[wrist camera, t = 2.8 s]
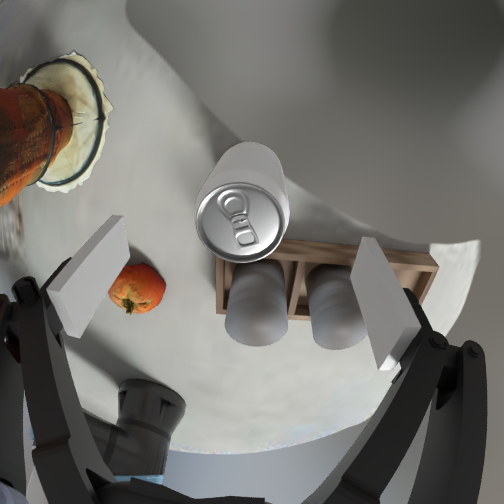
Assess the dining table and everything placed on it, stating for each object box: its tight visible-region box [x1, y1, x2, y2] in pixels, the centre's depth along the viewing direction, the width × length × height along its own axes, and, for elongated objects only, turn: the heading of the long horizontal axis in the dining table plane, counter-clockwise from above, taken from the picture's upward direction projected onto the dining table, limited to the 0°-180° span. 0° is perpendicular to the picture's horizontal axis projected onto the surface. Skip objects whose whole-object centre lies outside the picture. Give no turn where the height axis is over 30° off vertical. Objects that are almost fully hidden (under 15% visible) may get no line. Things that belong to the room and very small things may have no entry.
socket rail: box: [216, 239, 439, 350], centre depth 30 cm, size 27×9×9 cm, turn 86°
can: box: [195, 142, 290, 263], centre depth 23 cm, size 6×6×12 cm
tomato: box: [108, 262, 166, 315], centre depth 35 cm, size 8×7×7 cm
